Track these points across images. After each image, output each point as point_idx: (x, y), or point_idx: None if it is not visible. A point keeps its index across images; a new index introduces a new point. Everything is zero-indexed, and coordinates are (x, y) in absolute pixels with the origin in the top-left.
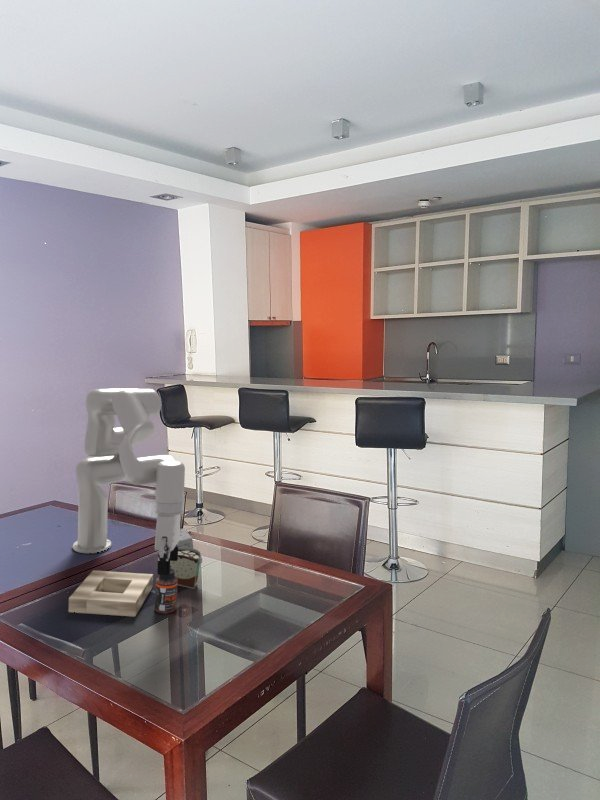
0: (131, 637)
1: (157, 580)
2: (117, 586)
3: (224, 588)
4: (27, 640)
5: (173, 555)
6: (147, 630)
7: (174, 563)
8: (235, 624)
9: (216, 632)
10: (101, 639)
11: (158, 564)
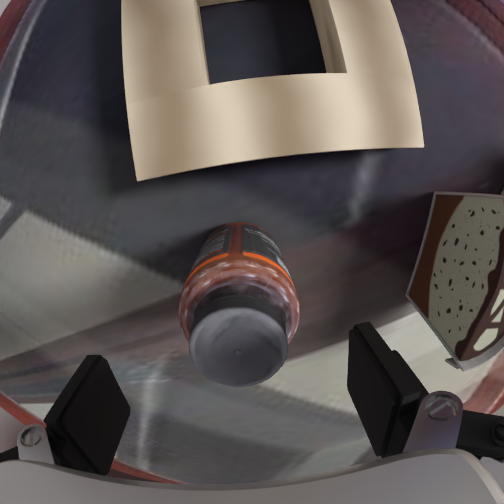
0: (54, 229)
1: (199, 281)
2: (324, 29)
3: (409, 366)
4: (14, 18)
5: (359, 396)
6: (97, 257)
7: (480, 235)
8: (221, 436)
9: (169, 413)
10: (27, 157)
11: (61, 401)
